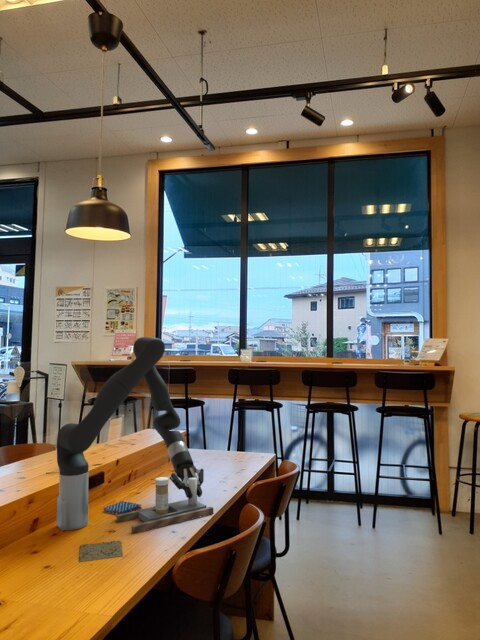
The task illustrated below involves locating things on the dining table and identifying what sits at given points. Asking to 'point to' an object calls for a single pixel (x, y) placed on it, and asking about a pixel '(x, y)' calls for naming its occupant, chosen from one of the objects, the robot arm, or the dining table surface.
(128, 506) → the woven mat
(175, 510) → the grey tray with post
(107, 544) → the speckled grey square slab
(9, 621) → the dining table surface
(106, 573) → the dining table surface
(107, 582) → the dining table surface
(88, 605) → the dining table surface
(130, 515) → the guide rails
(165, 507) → the sprinkles bottle
